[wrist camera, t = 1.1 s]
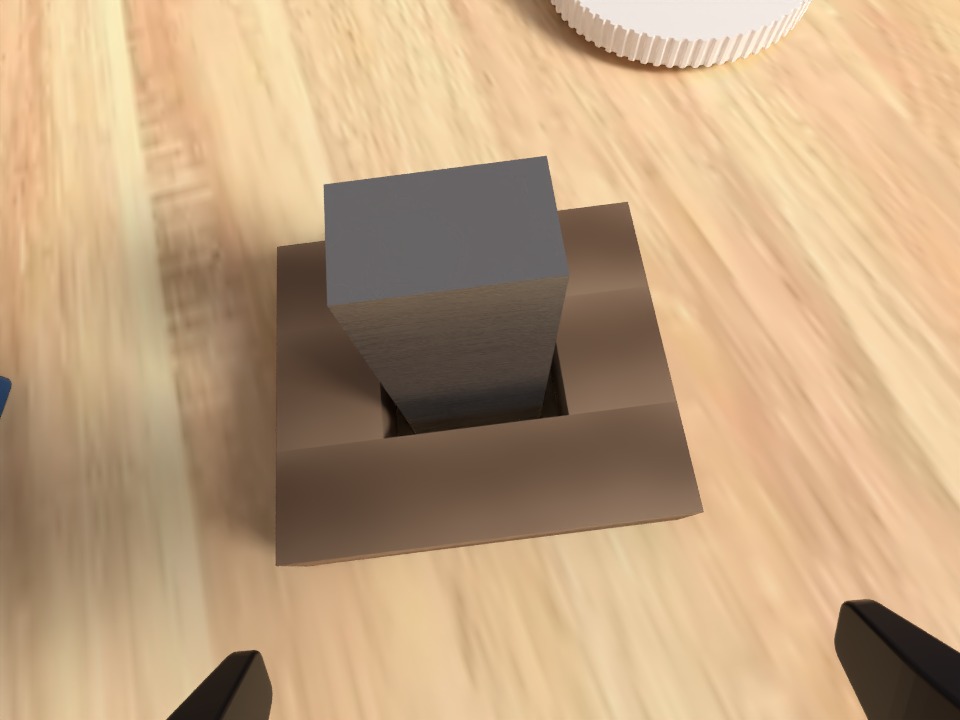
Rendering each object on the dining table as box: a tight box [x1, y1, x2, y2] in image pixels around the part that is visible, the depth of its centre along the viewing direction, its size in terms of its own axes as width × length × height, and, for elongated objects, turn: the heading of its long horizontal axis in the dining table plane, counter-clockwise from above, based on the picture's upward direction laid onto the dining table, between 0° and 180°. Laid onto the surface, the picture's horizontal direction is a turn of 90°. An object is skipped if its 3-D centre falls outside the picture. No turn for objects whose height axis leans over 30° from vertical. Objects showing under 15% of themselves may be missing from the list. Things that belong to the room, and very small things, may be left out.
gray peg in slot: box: [324, 156, 570, 434], centre depth 18 cm, size 3×5×12 cm, turn 97°
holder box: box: [276, 202, 704, 566], centre depth 22 cm, size 12×14×3 cm
